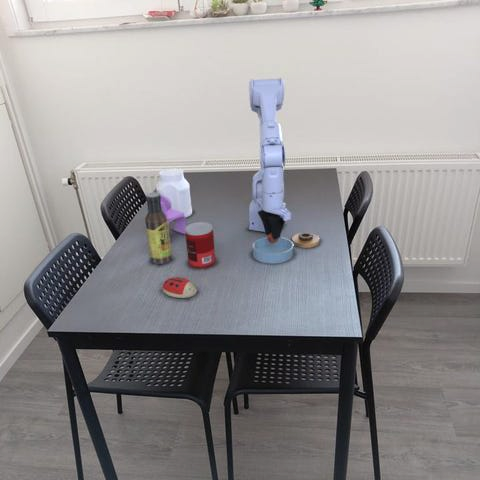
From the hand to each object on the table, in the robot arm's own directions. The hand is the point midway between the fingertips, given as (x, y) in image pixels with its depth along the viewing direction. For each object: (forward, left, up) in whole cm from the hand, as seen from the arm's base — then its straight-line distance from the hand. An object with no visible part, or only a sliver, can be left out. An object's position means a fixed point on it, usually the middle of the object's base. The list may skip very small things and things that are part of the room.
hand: (272, 236), depth 139 cm
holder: (+6, +11, -6) cm, 14 cm away
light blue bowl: (0, 0, -6) cm, 6 cm away
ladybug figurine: (-14, -30, -6) cm, 33 cm away
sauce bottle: (-29, -16, -6) cm, 33 cm away
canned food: (-17, -13, -6) cm, 22 cm away
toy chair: (-36, 0, -6) cm, 36 cm away
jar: (-45, +17, -6) cm, 49 cm away
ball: (0, 0, -1) cm, 0 cm away
